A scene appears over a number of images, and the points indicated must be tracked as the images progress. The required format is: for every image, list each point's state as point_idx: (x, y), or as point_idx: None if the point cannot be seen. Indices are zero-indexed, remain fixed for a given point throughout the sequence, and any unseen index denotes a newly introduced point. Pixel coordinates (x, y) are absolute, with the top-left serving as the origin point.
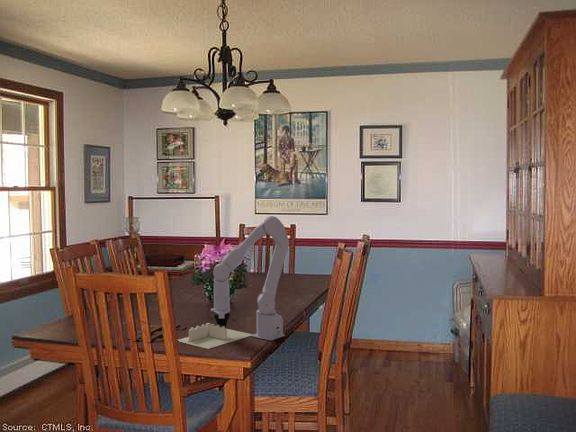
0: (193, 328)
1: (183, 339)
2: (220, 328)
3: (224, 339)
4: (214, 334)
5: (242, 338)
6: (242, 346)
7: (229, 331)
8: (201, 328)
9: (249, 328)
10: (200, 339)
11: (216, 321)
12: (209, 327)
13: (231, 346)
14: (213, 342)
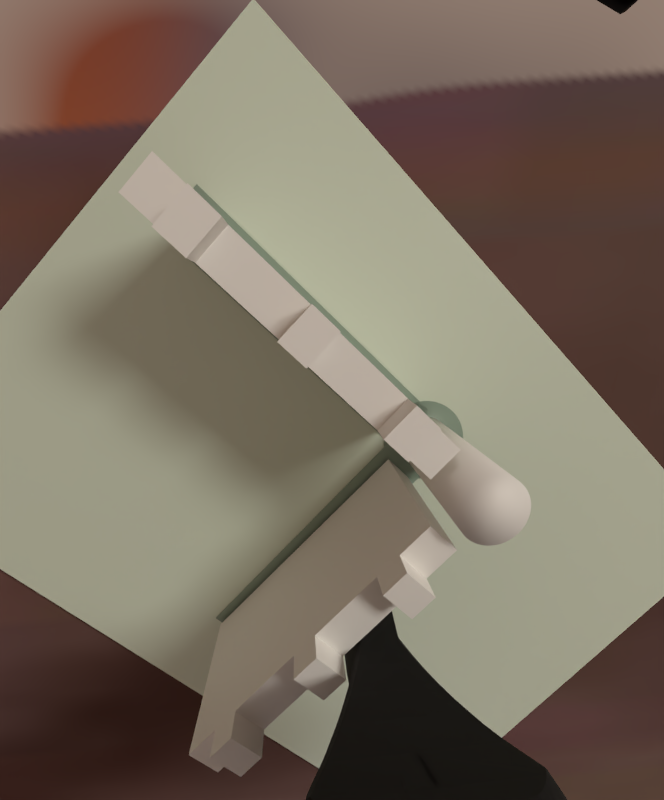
0: (182, 254)
1: (295, 127)
2: (257, 683)
3: (226, 620)
4: (339, 530)
5: (298, 748)
6: (18, 773)
7: (558, 627)
8: (338, 394)
9: (632, 764)
10: (275, 359)
11: (340, 721)
12: (439, 501)
13: (12, 688)
14: (135, 516)
